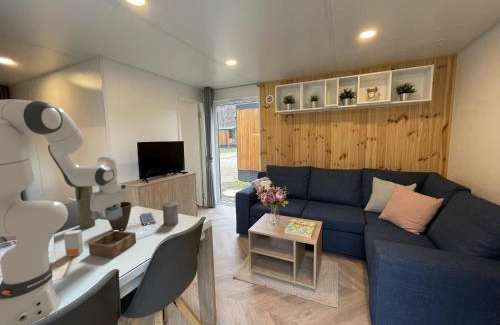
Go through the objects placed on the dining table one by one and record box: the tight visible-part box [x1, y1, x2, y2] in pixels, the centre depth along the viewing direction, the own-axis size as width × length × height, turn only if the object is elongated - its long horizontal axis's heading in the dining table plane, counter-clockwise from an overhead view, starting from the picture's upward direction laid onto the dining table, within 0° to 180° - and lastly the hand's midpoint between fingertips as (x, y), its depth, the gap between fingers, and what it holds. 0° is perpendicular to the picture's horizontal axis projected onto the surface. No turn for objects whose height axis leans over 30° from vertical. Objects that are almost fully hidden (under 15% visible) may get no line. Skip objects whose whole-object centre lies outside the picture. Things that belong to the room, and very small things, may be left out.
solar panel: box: [140, 212, 156, 225], centre depth 160 cm, size 8×23×2 cm, turn 31°
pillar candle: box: [162, 201, 179, 227], centre depth 151 cm, size 10×10×15 cm
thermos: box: [74, 186, 96, 230], centre depth 145 cm, size 9×12×35 cm
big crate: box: [88, 230, 137, 259], centre depth 117 cm, size 16×14×6 cm
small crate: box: [99, 206, 122, 221], centre depth 115 cm, size 6×8×5 cm
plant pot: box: [107, 201, 132, 231], centre depth 142 cm, size 15×15×16 cm
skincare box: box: [63, 229, 84, 257], centre depth 112 cm, size 6×4×12 cm
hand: (111, 213), depth 115 cm, fingers closed on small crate, 6 cm apart
